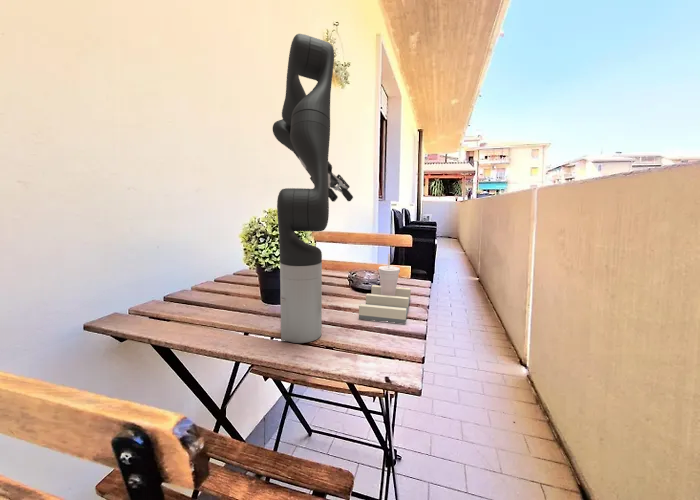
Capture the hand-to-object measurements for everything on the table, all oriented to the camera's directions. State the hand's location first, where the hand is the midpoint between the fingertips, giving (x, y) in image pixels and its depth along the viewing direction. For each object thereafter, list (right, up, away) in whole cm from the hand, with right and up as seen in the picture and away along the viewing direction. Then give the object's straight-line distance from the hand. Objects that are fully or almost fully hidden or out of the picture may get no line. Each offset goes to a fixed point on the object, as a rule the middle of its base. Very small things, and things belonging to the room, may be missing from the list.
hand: (343, 199), depth 105 cm
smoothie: (+13, -31, -5) cm, 34 cm away
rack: (+13, -33, -9) cm, 36 cm away
